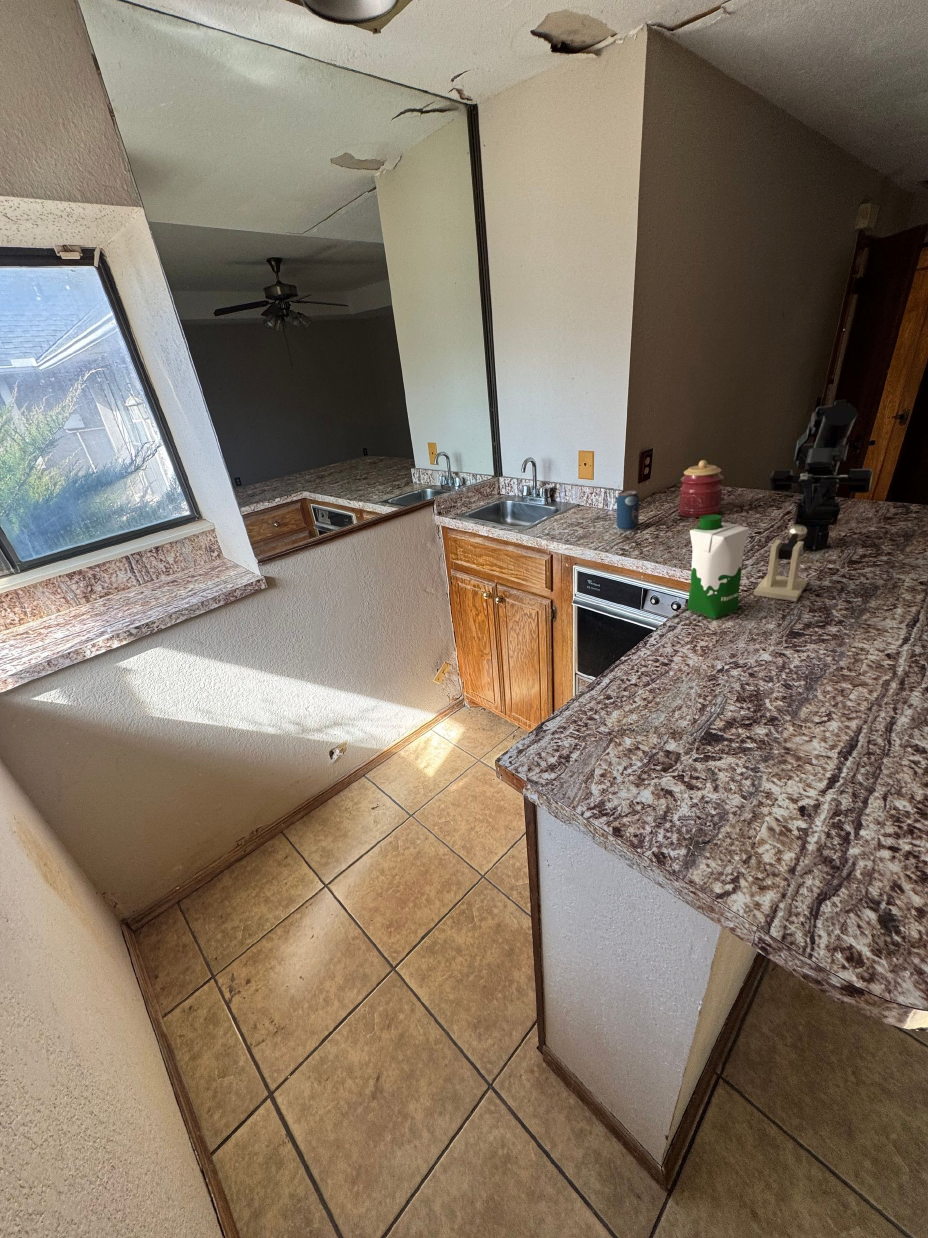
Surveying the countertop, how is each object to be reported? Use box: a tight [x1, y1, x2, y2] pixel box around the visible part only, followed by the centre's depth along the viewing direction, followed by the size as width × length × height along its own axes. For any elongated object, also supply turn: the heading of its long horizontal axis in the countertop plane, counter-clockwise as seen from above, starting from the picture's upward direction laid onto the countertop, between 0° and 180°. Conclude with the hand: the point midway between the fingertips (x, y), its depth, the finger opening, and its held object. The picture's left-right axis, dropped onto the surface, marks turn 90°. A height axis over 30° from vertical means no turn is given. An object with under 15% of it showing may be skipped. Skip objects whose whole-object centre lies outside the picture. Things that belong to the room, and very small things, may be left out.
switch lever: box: [778, 524, 807, 561], centre depth 105 cm, size 12×4×4 cm, turn 138°
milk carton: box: [686, 514, 750, 620], centre depth 99 cm, size 9×9×20 cm
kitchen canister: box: [678, 459, 725, 518], centre depth 162 cm, size 13×13×18 cm
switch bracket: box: [753, 539, 808, 602], centre depth 104 cm, size 10×8×11 cm
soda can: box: [616, 490, 640, 532], centre depth 159 cm, size 7×7×12 cm
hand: (809, 513), depth 109 cm, fingers closed
